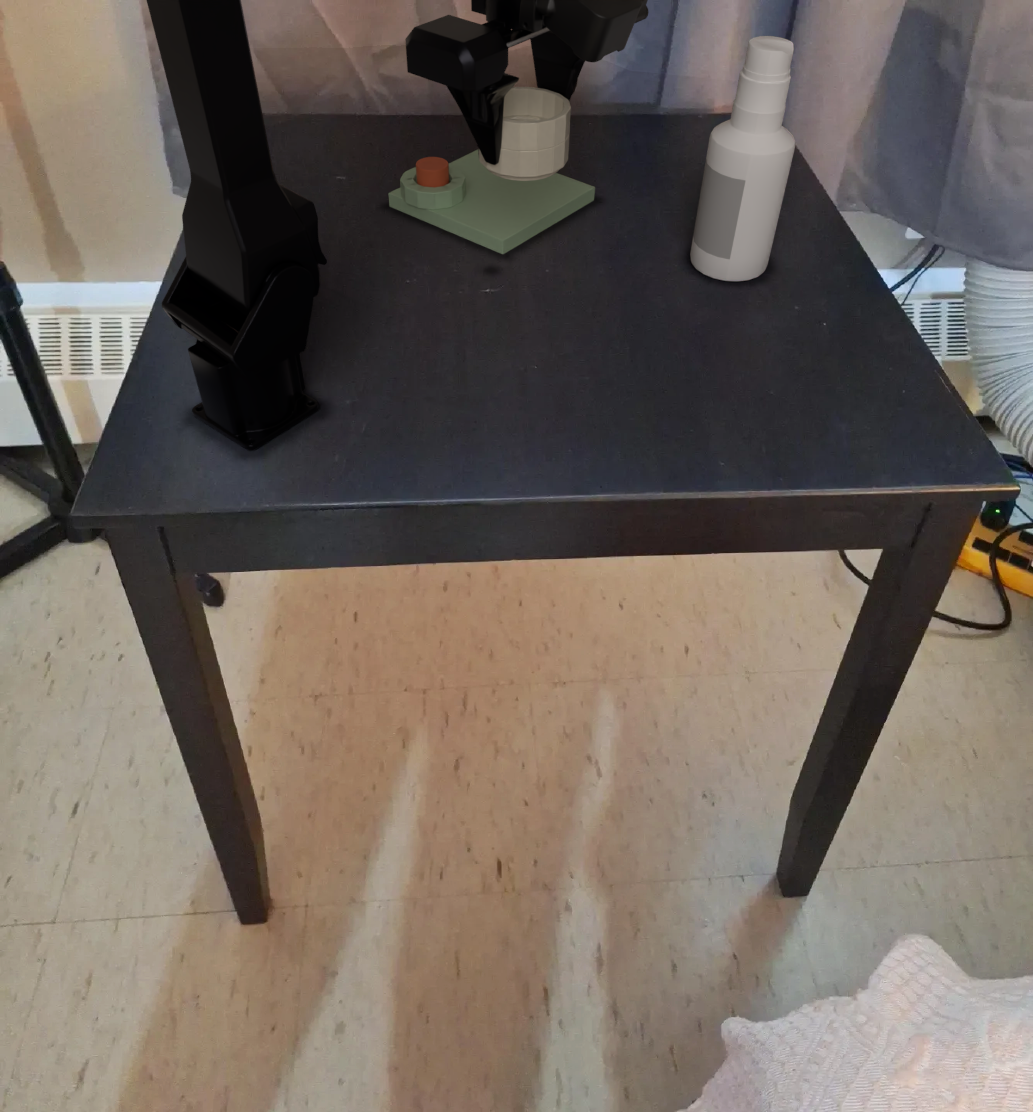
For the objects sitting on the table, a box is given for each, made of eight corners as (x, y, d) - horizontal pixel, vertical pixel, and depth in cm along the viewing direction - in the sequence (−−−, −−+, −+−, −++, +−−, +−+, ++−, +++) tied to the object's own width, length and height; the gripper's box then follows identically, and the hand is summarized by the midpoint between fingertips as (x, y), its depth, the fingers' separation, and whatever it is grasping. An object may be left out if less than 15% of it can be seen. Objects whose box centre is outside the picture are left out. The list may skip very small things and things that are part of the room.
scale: (499, 257, 83) (499, 225, 81) (385, 208, 89) (383, 177, 87) (594, 200, 91) (596, 170, 89) (484, 159, 97) (483, 130, 95)
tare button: (434, 192, 86) (433, 173, 85) (410, 182, 87) (408, 164, 86) (455, 181, 88) (455, 162, 86) (431, 172, 89) (431, 153, 88)
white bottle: (707, 237, 87) (745, 22, 74) (777, 257, 84) (830, 39, 71) (676, 269, 83) (711, 47, 70) (750, 291, 80) (800, 66, 67)
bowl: (529, 192, 70) (530, 131, 67) (460, 165, 73) (458, 105, 70) (584, 162, 74) (588, 102, 71) (517, 137, 77) (518, 79, 74)
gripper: (532, -37, 53) (526, 225, 64) (708, -97, 63) (676, 138, 74) (391, -73, 58) (409, 176, 69) (575, -124, 68) (564, 101, 79)
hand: (522, 147), depth 73 cm, fingers closed on bowl, 7 cm apart
